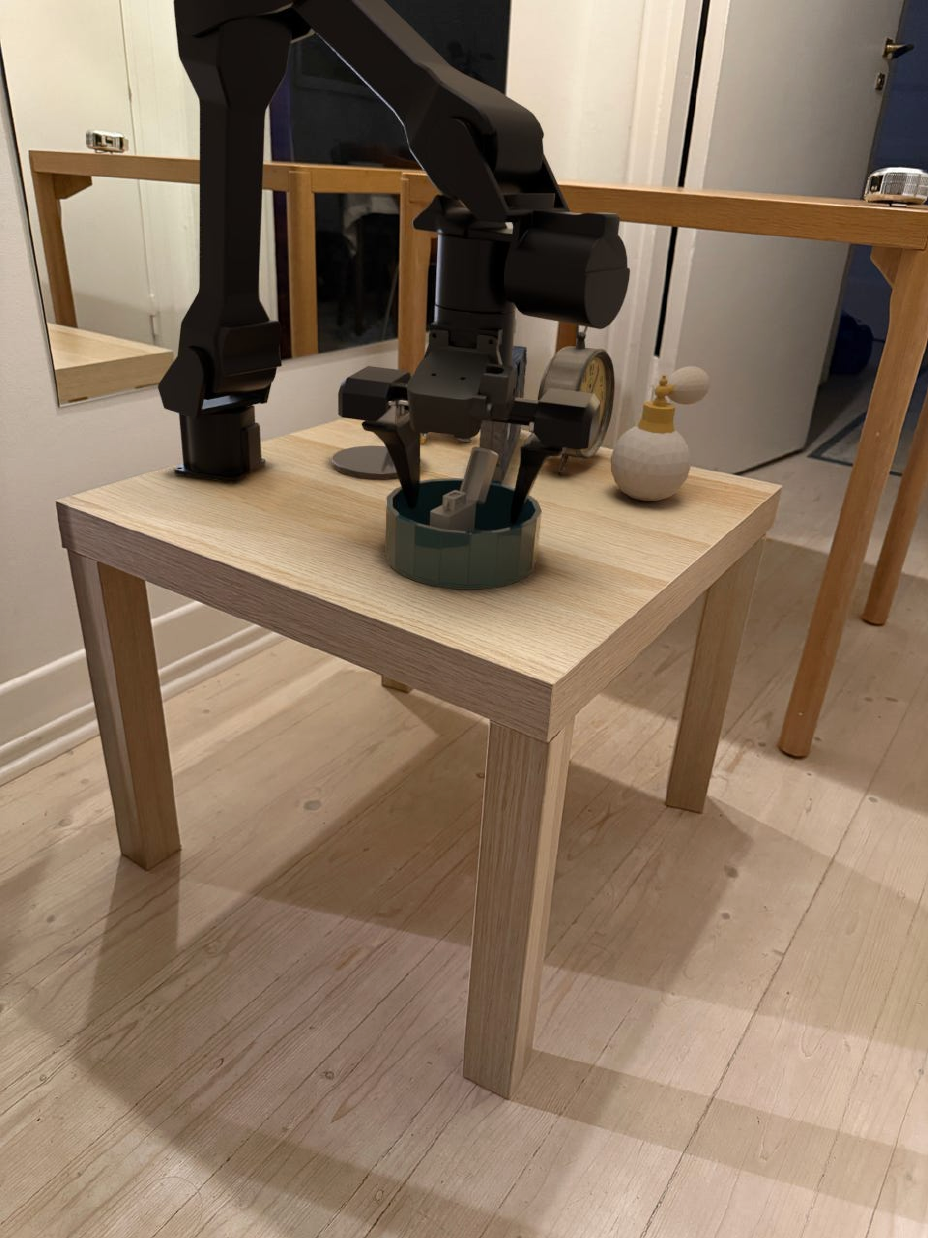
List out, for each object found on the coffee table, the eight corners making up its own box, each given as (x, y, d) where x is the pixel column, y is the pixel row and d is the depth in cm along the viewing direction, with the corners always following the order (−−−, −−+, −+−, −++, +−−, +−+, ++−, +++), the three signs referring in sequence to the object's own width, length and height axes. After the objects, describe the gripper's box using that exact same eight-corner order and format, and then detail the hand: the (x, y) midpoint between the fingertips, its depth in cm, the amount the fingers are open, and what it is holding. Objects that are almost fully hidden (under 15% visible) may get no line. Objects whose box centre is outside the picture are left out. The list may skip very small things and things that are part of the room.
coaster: (317, 471, 89) (317, 465, 89) (351, 446, 97) (351, 441, 96) (404, 484, 87) (405, 478, 87) (432, 457, 95) (432, 452, 94)
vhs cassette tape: (499, 432, 105) (506, 343, 100) (524, 435, 104) (532, 346, 100) (471, 482, 89) (477, 379, 84) (501, 486, 88) (509, 382, 84)
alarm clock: (569, 482, 90) (589, 312, 83) (521, 471, 93) (536, 304, 85) (609, 455, 99) (630, 300, 92) (564, 446, 101) (581, 293, 94)
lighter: (445, 569, 69) (451, 468, 66) (426, 563, 70) (431, 463, 66) (492, 541, 75) (499, 446, 71) (474, 536, 75) (480, 442, 72)
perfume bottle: (596, 500, 86) (613, 372, 81) (623, 472, 94) (640, 354, 89) (674, 516, 84) (698, 385, 78) (695, 486, 92) (718, 366, 86)
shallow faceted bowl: (362, 574, 68) (362, 518, 66) (412, 519, 79) (414, 470, 77) (517, 601, 66) (523, 544, 64) (547, 540, 77) (553, 490, 74)
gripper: (304, 308, 59) (309, 533, 66) (591, 340, 55) (563, 574, 62) (366, 288, 68) (364, 485, 75) (613, 313, 64) (586, 519, 72)
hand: (462, 514), depth 71 cm, fingers open, 8 cm apart
